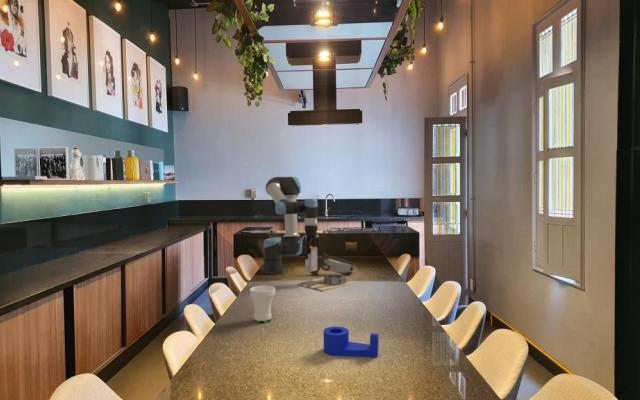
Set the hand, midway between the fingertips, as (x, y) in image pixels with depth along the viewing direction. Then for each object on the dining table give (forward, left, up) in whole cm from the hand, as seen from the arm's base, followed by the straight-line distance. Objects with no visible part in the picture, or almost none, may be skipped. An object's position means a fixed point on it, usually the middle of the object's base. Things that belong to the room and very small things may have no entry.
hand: (311, 264), depth 253 cm
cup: (+32, -60, -13) cm, 69 cm away
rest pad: (0, 0, -12) cm, 12 cm away
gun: (-10, +28, -13) cm, 32 cm away
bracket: (+82, -59, -13) cm, 102 cm away
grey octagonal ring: (+8, +12, -12) cm, 18 cm away
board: (+5, +7, -12) cm, 15 cm away
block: (0, 0, -4) cm, 4 cm away
